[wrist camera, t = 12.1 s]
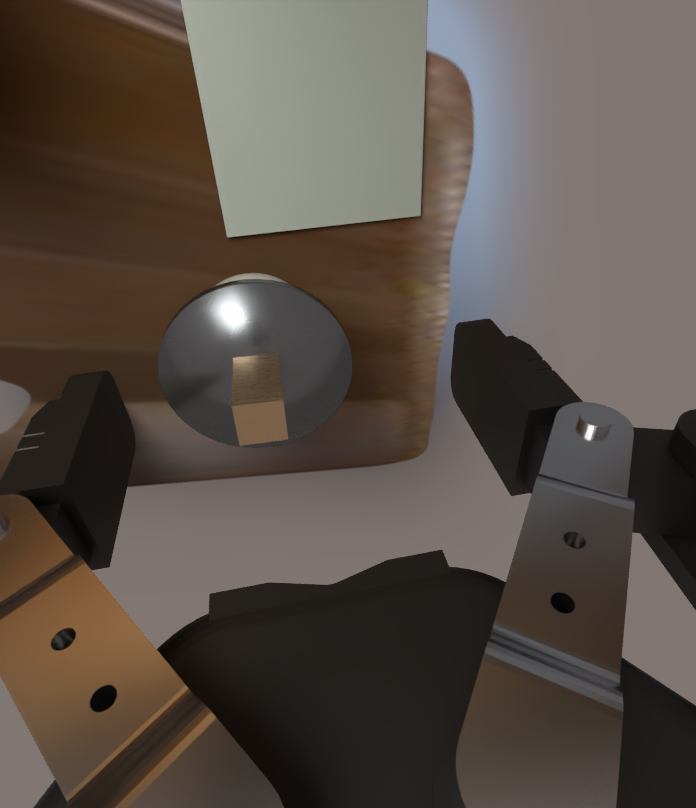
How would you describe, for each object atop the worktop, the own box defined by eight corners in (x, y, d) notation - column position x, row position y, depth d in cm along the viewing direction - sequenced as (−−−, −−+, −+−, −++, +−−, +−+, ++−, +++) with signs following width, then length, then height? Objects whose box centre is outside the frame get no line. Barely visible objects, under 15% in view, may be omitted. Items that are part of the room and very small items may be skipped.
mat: (177, -22, 32) (176, -23, 31) (427, -36, 33) (429, -36, 33) (227, 235, 41) (227, 237, 41) (419, 214, 43) (420, 215, 43)
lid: (135, 289, 33) (114, 338, 28) (347, 269, 35) (366, 312, 30) (183, 451, 42) (174, 514, 36) (353, 429, 43) (369, 486, 38)
